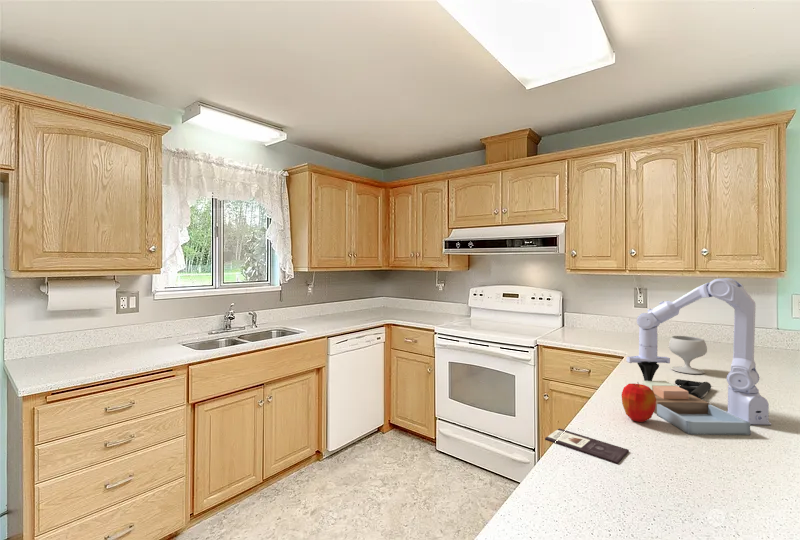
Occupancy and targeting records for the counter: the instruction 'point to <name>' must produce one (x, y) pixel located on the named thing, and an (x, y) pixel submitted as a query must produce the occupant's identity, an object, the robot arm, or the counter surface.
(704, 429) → the box
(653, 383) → the tile rear
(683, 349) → the chalice
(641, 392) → the apple
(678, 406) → the walnut board
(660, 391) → the tile front
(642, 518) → the counter surface
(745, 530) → the counter surface
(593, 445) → the chocolate bar
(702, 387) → the black toy gun
